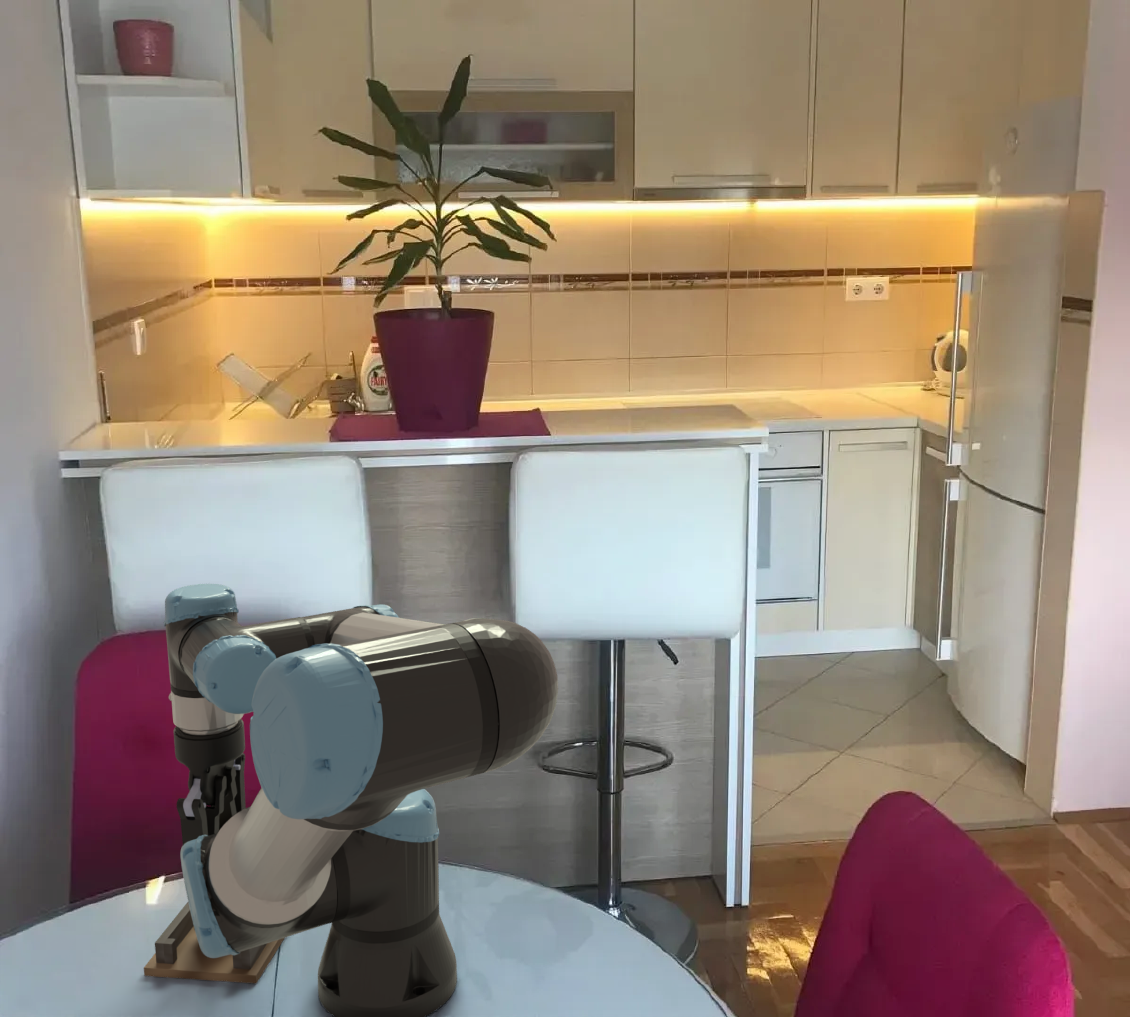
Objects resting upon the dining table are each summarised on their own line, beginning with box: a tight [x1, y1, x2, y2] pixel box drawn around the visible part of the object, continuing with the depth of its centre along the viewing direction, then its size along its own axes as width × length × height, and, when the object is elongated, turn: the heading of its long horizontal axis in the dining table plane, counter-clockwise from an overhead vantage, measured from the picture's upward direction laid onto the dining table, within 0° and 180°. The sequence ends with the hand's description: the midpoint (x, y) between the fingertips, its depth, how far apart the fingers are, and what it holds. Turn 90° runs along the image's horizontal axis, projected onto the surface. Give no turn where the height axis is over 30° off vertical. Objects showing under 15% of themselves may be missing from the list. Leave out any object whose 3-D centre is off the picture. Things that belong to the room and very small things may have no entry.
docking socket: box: [143, 901, 285, 984], centre depth 131 cm, size 13×13×4 cm
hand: (221, 911), depth 130 cm, fingers closed on cork, 4 cm apart
